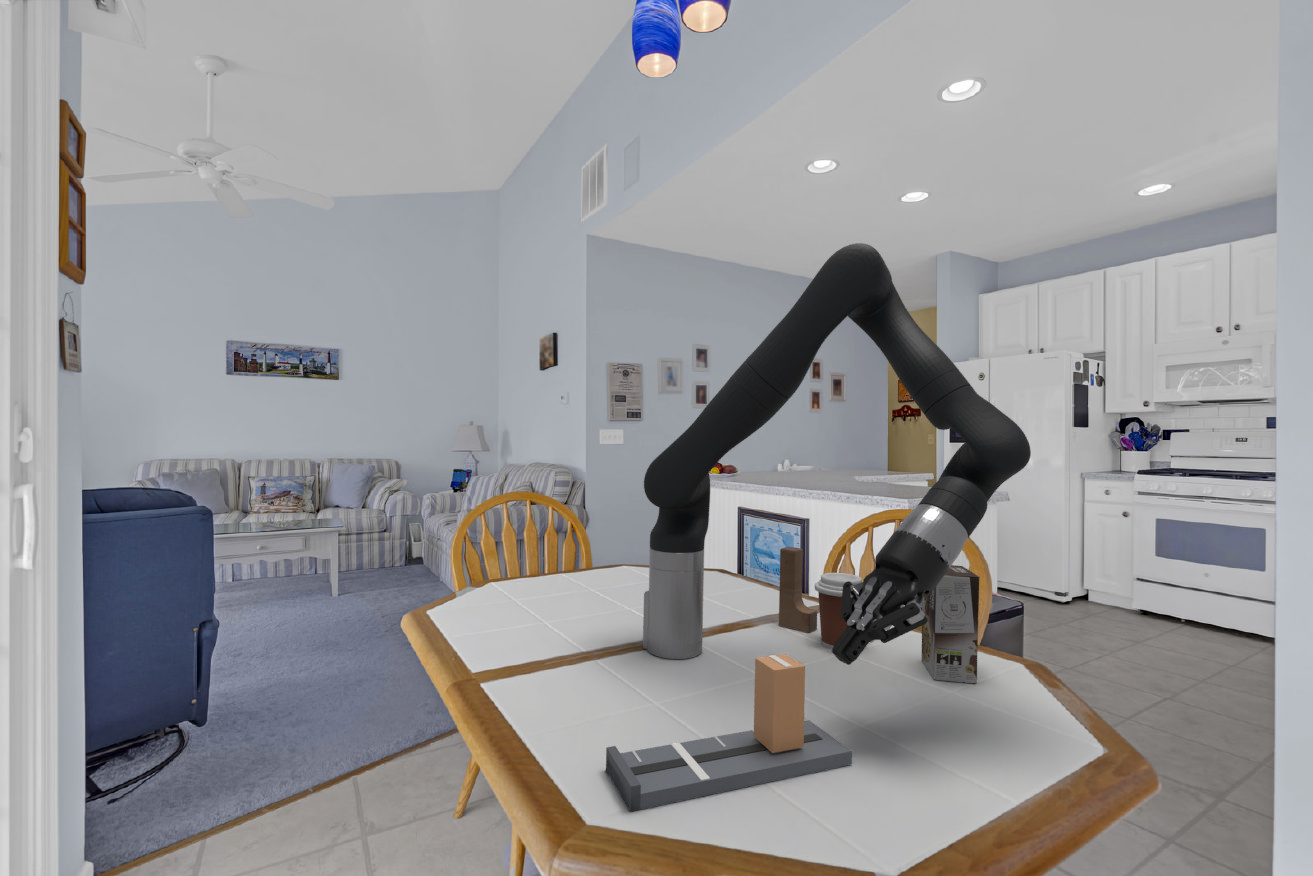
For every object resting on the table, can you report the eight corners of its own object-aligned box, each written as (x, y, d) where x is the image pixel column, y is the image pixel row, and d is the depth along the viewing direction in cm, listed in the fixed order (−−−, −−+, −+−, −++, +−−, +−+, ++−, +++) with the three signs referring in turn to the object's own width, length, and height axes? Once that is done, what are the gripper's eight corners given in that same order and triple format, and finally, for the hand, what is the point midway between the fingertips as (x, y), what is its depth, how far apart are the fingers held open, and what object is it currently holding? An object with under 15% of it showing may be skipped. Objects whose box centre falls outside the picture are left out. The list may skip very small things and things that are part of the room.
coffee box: (978, 684, 93) (981, 576, 93) (932, 680, 94) (935, 574, 94) (961, 663, 102) (963, 564, 102) (919, 659, 103) (921, 562, 103)
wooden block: (778, 626, 120) (779, 548, 120) (786, 622, 123) (788, 546, 123) (809, 633, 116) (810, 553, 116) (817, 629, 118) (819, 550, 118)
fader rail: (630, 811, 60) (630, 786, 60) (605, 769, 67) (606, 747, 67) (851, 764, 69) (852, 743, 69) (808, 732, 77) (809, 712, 77)
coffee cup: (809, 648, 108) (811, 579, 108) (817, 633, 116) (818, 569, 116) (865, 656, 104) (866, 585, 104) (868, 640, 113) (870, 574, 113)
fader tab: (772, 753, 68) (774, 669, 68) (753, 736, 71) (755, 656, 71) (803, 747, 69) (805, 664, 69) (783, 731, 73) (785, 653, 73)
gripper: (868, 522, 83) (789, 622, 78) (948, 537, 71) (860, 657, 66) (899, 559, 85) (823, 660, 80) (982, 580, 73) (898, 700, 68)
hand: (840, 658), depth 73 cm, fingers closed
